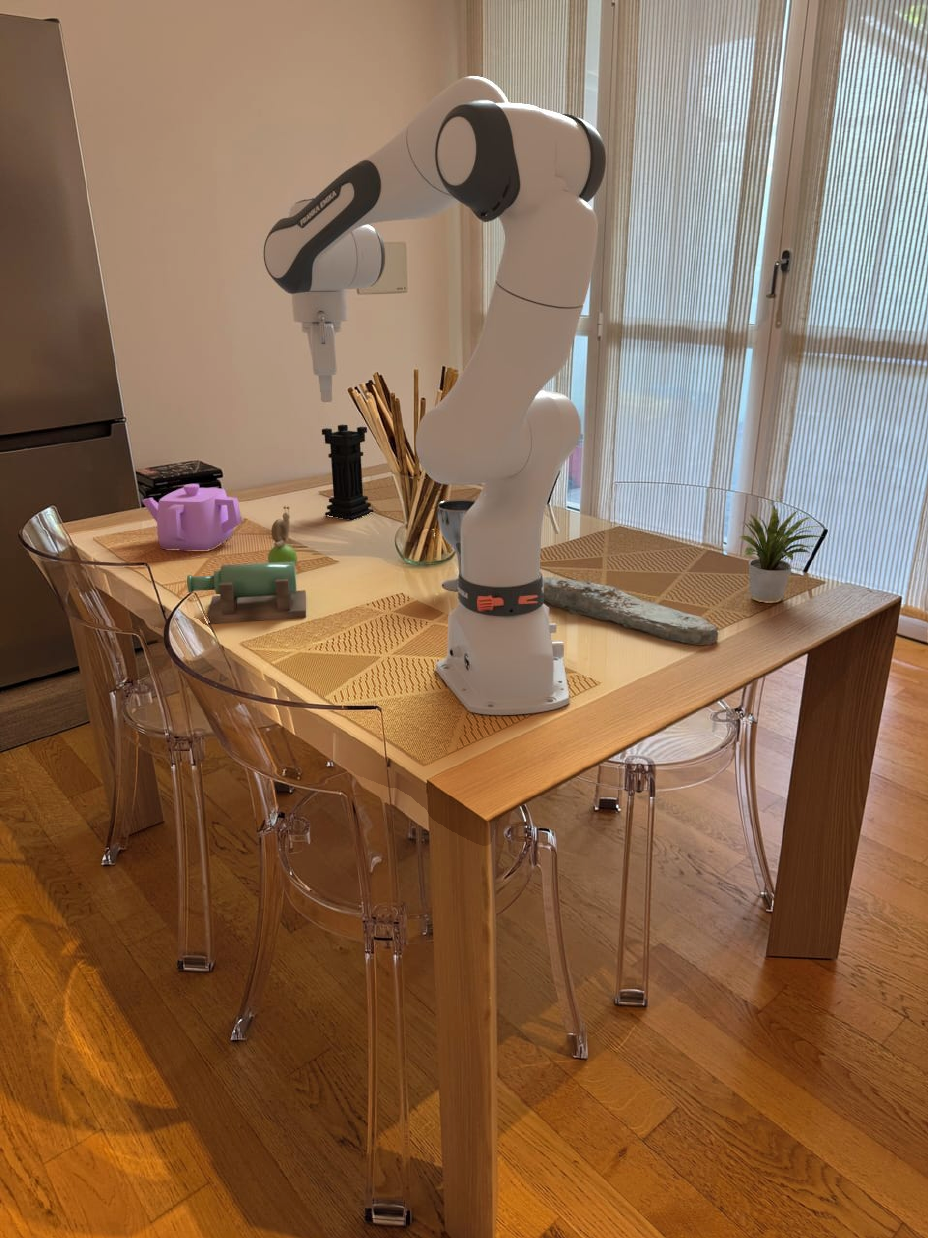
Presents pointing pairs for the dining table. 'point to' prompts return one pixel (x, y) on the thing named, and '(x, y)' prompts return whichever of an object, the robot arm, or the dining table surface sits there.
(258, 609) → the u-rest
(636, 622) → the long grey stone
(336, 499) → the chess piece
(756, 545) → the house plant
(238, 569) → the bottle
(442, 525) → the wine glass
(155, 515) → the teakettle
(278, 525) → the snail figurine
